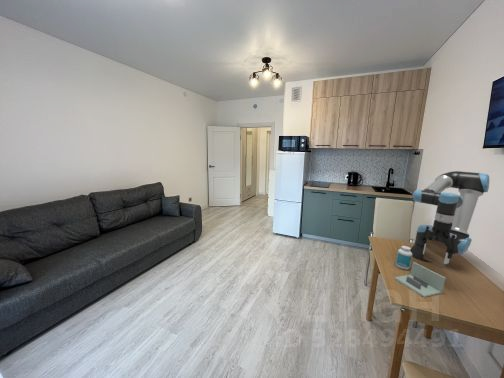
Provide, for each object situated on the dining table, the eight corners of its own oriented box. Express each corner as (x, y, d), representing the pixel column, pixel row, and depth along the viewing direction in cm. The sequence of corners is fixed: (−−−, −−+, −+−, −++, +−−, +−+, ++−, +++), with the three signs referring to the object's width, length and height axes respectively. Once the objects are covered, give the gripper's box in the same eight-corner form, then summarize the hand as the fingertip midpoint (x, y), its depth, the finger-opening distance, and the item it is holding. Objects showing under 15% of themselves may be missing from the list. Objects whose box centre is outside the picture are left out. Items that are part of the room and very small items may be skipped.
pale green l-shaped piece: (411, 275, 126) (414, 261, 124) (442, 293, 111) (446, 277, 109) (394, 278, 121) (397, 264, 120) (423, 297, 106) (427, 281, 105)
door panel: (426, 257, 125) (430, 238, 123) (446, 266, 116) (450, 246, 114) (423, 258, 124) (427, 239, 122) (442, 267, 115) (447, 246, 113)
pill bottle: (411, 271, 131) (416, 250, 129) (398, 269, 132) (402, 249, 130) (405, 264, 138) (409, 245, 136) (393, 263, 140) (396, 244, 137)
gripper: (417, 215, 125) (410, 249, 129) (464, 229, 104) (454, 270, 108) (426, 214, 127) (419, 248, 131) (474, 228, 106) (464, 268, 110)
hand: (435, 258), depth 120 cm, fingers closed on door panel, 10 cm apart
